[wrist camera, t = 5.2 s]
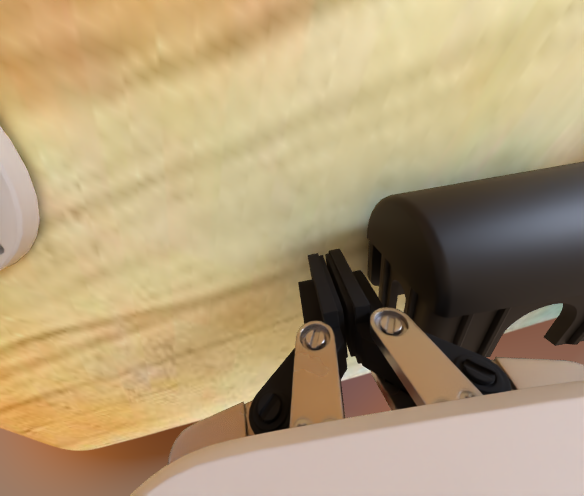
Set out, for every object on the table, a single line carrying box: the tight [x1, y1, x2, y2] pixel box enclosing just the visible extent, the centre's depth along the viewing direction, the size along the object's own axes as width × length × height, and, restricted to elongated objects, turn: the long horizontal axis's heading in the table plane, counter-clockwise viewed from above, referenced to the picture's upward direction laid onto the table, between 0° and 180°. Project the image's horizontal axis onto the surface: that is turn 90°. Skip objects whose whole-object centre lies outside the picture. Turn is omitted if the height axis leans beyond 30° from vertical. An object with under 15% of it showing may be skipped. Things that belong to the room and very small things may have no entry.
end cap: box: [367, 162, 584, 357], centre depth 10 cm, size 10×7×7 cm
